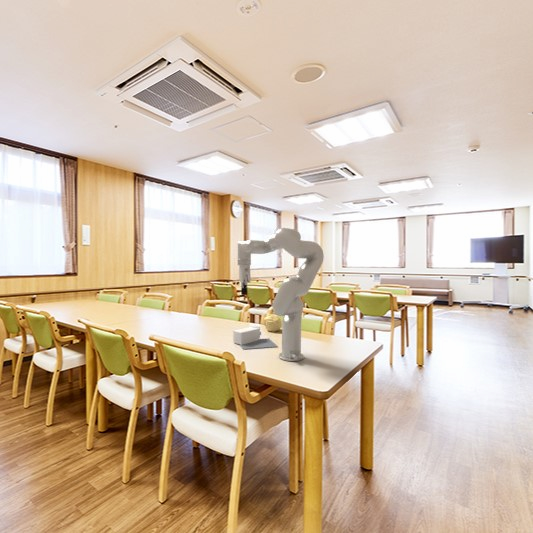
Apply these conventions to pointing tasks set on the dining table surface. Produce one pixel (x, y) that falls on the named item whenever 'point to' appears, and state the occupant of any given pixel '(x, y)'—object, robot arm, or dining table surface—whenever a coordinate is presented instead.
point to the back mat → (259, 344)
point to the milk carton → (246, 335)
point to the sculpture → (272, 323)
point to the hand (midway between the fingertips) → (244, 294)
